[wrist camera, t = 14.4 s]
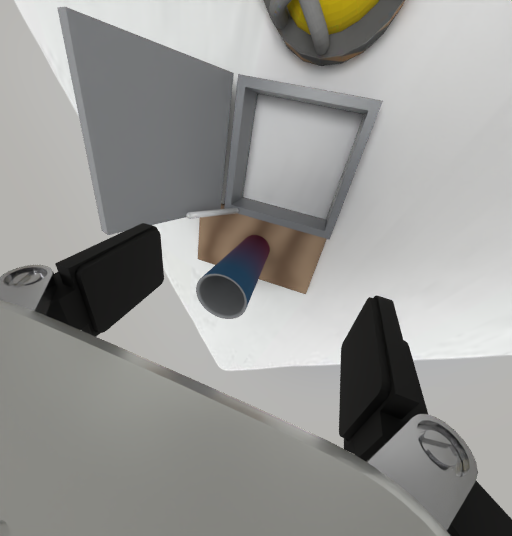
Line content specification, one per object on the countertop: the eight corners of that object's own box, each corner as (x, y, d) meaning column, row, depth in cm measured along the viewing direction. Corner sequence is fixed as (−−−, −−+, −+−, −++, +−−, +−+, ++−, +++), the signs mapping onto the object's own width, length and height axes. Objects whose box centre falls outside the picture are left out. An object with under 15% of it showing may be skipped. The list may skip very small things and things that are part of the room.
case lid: (65, 6, 15) (57, 7, 15) (107, 235, 23) (101, 230, 24) (233, 73, 26) (225, 72, 27) (220, 209, 35) (214, 206, 35)
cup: (247, 222, 39) (205, 263, 27) (281, 242, 39) (256, 293, 27) (232, 252, 43) (190, 301, 31) (264, 271, 43) (234, 327, 31)
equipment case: (376, 105, 28) (397, 90, 18) (330, 227, 37) (327, 262, 27) (234, 79, 31) (186, 53, 21) (222, 197, 40) (184, 219, 30)
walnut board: (328, 233, 37) (327, 235, 36) (306, 291, 44) (305, 294, 43) (203, 198, 41) (200, 199, 40) (200, 256, 47) (197, 258, 46)
